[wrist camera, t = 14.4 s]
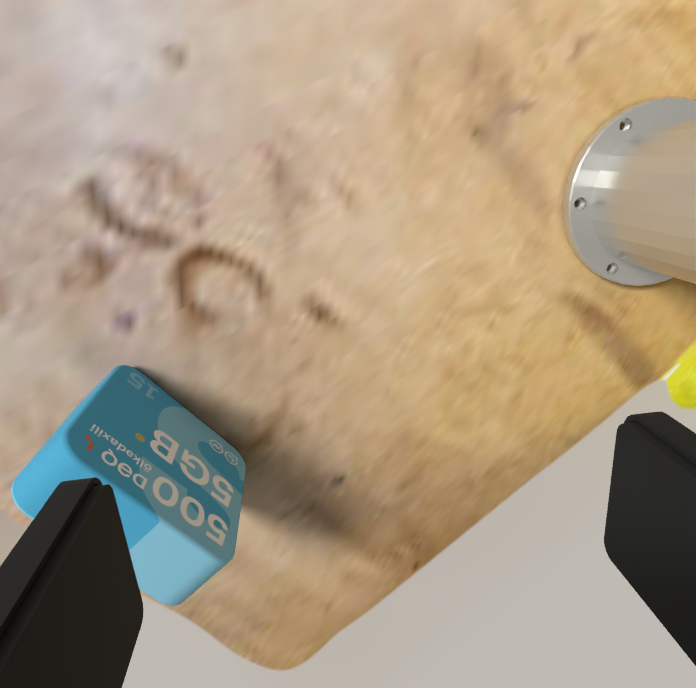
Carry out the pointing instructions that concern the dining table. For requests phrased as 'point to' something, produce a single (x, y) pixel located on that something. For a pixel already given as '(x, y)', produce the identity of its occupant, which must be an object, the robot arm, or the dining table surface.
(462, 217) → the dining table surface
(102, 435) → the data package
